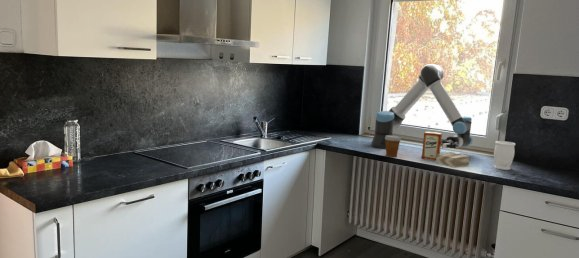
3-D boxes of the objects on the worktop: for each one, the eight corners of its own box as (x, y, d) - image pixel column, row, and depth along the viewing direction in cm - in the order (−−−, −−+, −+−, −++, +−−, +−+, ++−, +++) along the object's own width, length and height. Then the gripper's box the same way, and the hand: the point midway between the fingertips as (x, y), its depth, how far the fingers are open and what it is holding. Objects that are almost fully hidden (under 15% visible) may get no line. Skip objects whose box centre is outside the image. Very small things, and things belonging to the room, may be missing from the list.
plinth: (435, 162, 261) (436, 154, 260) (450, 160, 269) (451, 152, 268) (453, 167, 251) (454, 158, 250) (468, 164, 259) (469, 156, 258)
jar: (495, 165, 262) (498, 140, 259) (514, 168, 255) (517, 142, 253) (489, 168, 254) (492, 141, 251) (509, 171, 247) (512, 144, 245)
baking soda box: (421, 158, 271) (424, 132, 269) (423, 156, 277) (425, 130, 274) (438, 160, 267) (440, 133, 265) (439, 158, 273) (442, 132, 271)
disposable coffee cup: (388, 157, 268) (389, 137, 266) (380, 154, 277) (382, 134, 275) (402, 157, 270) (404, 137, 268) (394, 154, 279) (396, 135, 278)
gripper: (471, 151, 273) (450, 154, 261) (436, 144, 293) (415, 146, 281) (472, 139, 272) (451, 141, 260) (437, 132, 292) (416, 134, 280)
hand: (432, 144), depth 270 cm, fingers open, 13 cm apart
